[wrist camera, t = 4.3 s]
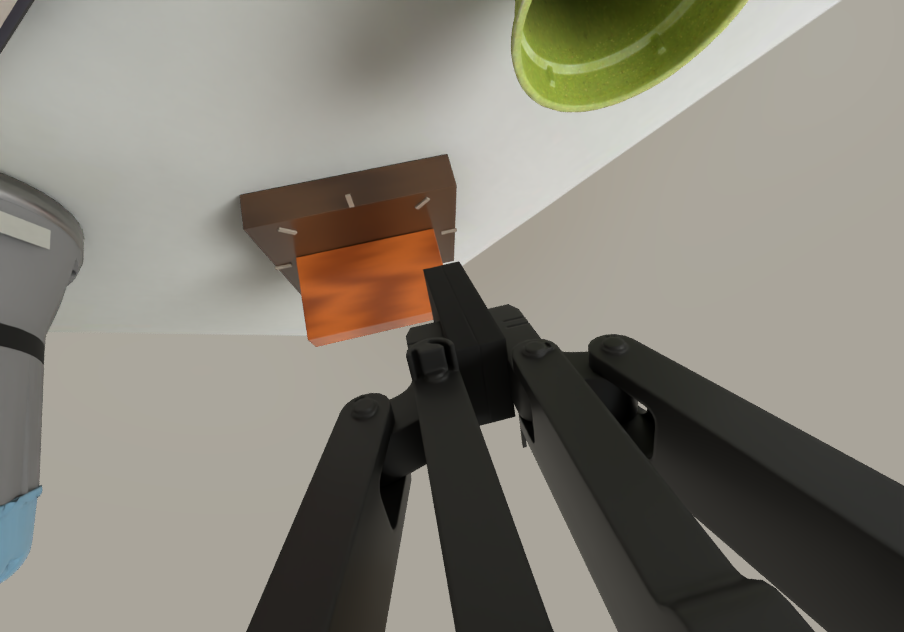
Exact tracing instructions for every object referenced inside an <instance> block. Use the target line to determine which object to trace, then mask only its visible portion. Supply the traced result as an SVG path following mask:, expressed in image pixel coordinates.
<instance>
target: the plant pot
mask: <svg viewBox="0 0 904 632" xmlns="http://www.w3.org/2000/svg"><path fill="white" fill-rule="evenodd" d="M747 2H748V0H515V18H514V22H513V28H512V36H511V54H512V61H513V66H514V70H515V73H516V76H517V79H518V81H519V83H520V85H521V87H522V89H523V90H524V91H525V92H526V94H527V95H528V96H529V97H530V98H531V99H532V100H534V101H535V102H536V103H538V104H540V105H541V106H543V107H546V108H550V109H552V110H556V111H560V112H586V111H591V110H597V109H600V108H604V107H608V106H612V105H615V104H618V103H620V102H622V101H625V100H627V99H629V98H632V97H634V96H636V95H638V94H640V93H642V92H644V91H646V90H648V89H650V88H652V87H654V86H655V85H657V84H659V83H660V82H662V81H664V80H665V79H667V78H668V77H670V76H671V75H673V74H674V73H675V72H677V71H678V70H679V69H680V68H681V67H683V66H684V65H686V64H687V63H688V62H690V61H691V60H692V59H693V58H694V57H696V56H697V55H698V54H699V53H700V52H702V51H703V50H704V49H705V48H706V47H707V46H708V45H709V44H710V43H711V42H712V41H713V40H714V39H715V38H716V37H717V36H718V35H719V34H720V33H721V32H722V31H723V30H724V29H725V28H726V27H727V26H728V25H729V24H730V22H731V21H732V20H733V19H734V18H735V17H736V16H737V15H738V13H739V12H740V11H741V9H742V8H743V7H744V6H745V4H746V3H747Z"/></svg>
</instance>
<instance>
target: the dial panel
mask: <svg viewBox="0 0 904 632" xmlns="http://www.w3.org/2000/svg"><path fill="white" fill-rule="evenodd" d="M456 188H457V185H456V182H455V178H454V175H453V171H452V168H451V165H450V161H449V158H448V155H447V154H446V155H440V156H435V157H430V158H425V159H420V160H415V161H410V162H405V163H400V164H395V165H390V166H385V167H380V168H375V169H370V170H365V171H359V172H354V173H349V174H344V175H339V176H334V177H329V178H324V179H319V180H314V181H309V182H304V183H299V184H294V185H289V186H284V187H278V188H273V189H268V190H263V191H258V192H253V193H248V194H243V195H240V203H241V212H242V222H243V229H244V230H245V232H246V233H247V234H248V235H249V236H250V237H251V238H252V240H253V241H254V242H255V243H256V244H257V245H258V246H259V248H260V249H261V250H262V251H263V252H264V253H265V254H266V255H267V257H268V258H269V259H270V260H271V261H272V262H273V263H274V265H275V266H276V267H275V269H276V270H280V271H281V272H282V274H283V275H284V276H285V277H286V278H287V279H288V280H289V282H290V283H291V284H292V285H293V286H294V287H295V288H296V290H297V291H298V292H299V293H300V294H301V290H300V283H299V276H298V269H297V262H296V258H297V257H301V256H306V255H311V254H316V253H320V252H325V251H330V250H334V249H339V248H344V247H349V246H353V245H358V244H363V243H367V242H372V241H377V240H381V239H386V238H391V237H396V236H400V235H405V234H410V233H414V232H419V231H424V230H428V229H434V233H435V236H436V240H437V244H438V248H439V252H440V255H441V259H442V263H446V262H450V261H454V243H455V232H457V229H456V228H455V215H456Z"/></svg>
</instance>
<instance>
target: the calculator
mask: <svg viewBox="0 0 904 632" xmlns="http://www.w3.org/2000/svg"><path fill="white" fill-rule="evenodd" d="M33 2H34V0H0V53H1V52H2V50H3V49H4V47H5V46H6V44H7V42H8V41H9V39H10V38H11V36H12V35H13V33H14V31H15V30H16V28H17V27H18V25H19V24H20V22H21V21H22V19H23V17H24V16H25V14H26V13H27V11H28V10H29V8H30V6H31V5H32V3H33Z"/></svg>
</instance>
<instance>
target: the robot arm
mask: <svg viewBox="0 0 904 632" xmlns="http://www.w3.org/2000/svg"><path fill="white" fill-rule="evenodd" d="M83 253H84V235H83V231H82V229H81V227H80V225H79V223H78V222H77V220H76V219H75V218H74V217H73V216H72V215H71V213H70V212H69V211H67V210H66V209H65V208H64V207H63V206H62V205H60V204H59V203H57V202H56V201H55V200H53V199H52V198H50V197H49V196H47V195H45V194H44V193H42V192H40V191H39V190H37V189H35V188H33V187H31V186H29V185H27V184H25V183H23V182H21V181H19V180H17V179H14V178H12V177H10V176H7V175H5V174H2V173H0V583H2V582H3V581H5V580H6V579H8V578H9V577H10V576H11V575H12V574H14V573H15V572H16V571H17V570H18V569H19V568H20V566H21V565H22V564H23V562H24V561H25V559H26V558H27V556H28V554H29V552H30V549H31V544H32V538H33V530H34V521H35V511H36V504H37V498H38V497H39V496H40V494H41V493H42V485H40V486H39V477H40V452H41V427H42V402H43V376H44V350H45V338H46V334H47V332H48V330H49V328H50V326H51V324H52V322H53V320H54V318H55V316H56V314H57V311H58V309H59V307H60V304H61V302H62V299H63V296H64V293H65V290H66V287H67V286H68V285H69V284H70V283H71V282H73V280H74V279H75V278H76V276H77V274H78V272H79V270H80V268H81V266H82V264H83ZM423 272H424V277H425V282H426V286H427V291H428V296H429V301H430V306H431V310H432V315H433V320H434V323H429V324H425V325H421V326H417V327H412V328H410V330H409V332H408V334H407V335H406V340H407V345H408V350H407V354H406V358H407V362H408V366H409V370H410V374H411V377H412V383H411V385H410V386H409V387H408V389H407V390H406V391H404V392H403V393H402V394H400V395H398V396H396V397H395V398H392V399H390V400H389V399H388V398H387V397H386V396H385V395H382V394H380V393H369V394H365V395H361V396H359V397H357V398H354V399H352V400H351V401H350V402H348V403H347V404H346V405H345V406H344V407H343V409H342V410H341V412H340V414H339V417H338V419H337V421H336V424H335V426H334V428H333V431H332V433H331V435H330V438H329V440H328V443H327V445H326V447H325V449H324V452H323V454H322V456H321V459H320V461H319V463H318V466H317V468H316V470H315V473H314V475H313V477H312V480H311V482H310V484H309V487H308V489H307V491H306V494H305V496H304V498H303V501H302V503H301V505H300V508H299V510H298V512H297V515H296V517H295V519H294V522H293V524H292V526H291V529H290V531H289V533H288V536H287V538H286V540H285V543H284V545H283V547H282V550H281V552H280V554H279V557H278V559H277V561H276V564H275V566H274V569H273V571H272V573H271V575H270V578H269V580H268V582H267V585H266V587H265V589H264V592H263V594H262V596H261V599H260V601H259V603H258V606H257V608H256V610H255V613H254V615H253V617H252V620H251V622H250V624H249V627H248V629H247V631H246V632H385V627H386V622H387V616H388V611H389V605H390V599H391V593H392V587H393V582H394V576H395V570H396V565H397V559H398V553H399V547H400V542H401V536H402V529H403V524H404V519H405V513H406V507H407V501H408V495H409V490H410V484H411V472H413V471H415V470H416V469H418V468H420V467H422V466H424V465H426V464H427V468H428V474H429V480H430V485H431V491H432V497H433V503H434V508H435V515H436V520H437V526H438V532H439V538H440V543H441V549H442V555H443V560H444V566H445V572H446V578H447V584H448V589H449V595H450V601H451V607H452V613H453V618H454V624H455V630H456V632H554V631H553V629H552V626H551V624H550V621H549V618H548V615H547V613H546V610H545V607H544V604H543V602H542V599H541V596H540V593H539V591H538V588H537V585H536V582H535V579H534V576H533V574H532V571H531V568H530V565H529V563H528V560H527V557H526V554H525V552H524V549H523V546H522V543H521V540H520V538H519V535H518V532H517V529H516V527H515V524H514V521H513V518H512V515H511V513H510V510H509V507H508V504H507V502H506V499H505V496H504V493H503V490H502V488H501V485H500V482H499V479H498V476H497V474H496V471H495V468H494V465H493V463H492V460H491V457H490V454H489V451H488V449H487V446H486V443H485V440H484V437H483V435H482V432H481V429H480V425H484V424H488V423H492V422H496V421H500V420H504V419H507V418H512V417H515V410H514V405H515V407H516V409H517V410H518V413H519V420H520V429H521V437H522V445H523V448H524V447H526V446H527V445H526V440H527V442H528V444H529V446H530V448H531V450H532V452H533V455H534V457H535V459H536V461H537V463H538V465H539V467H540V469H541V471H542V473H543V475H544V478H545V480H546V482H547V484H548V486H549V488H550V490H551V492H552V494H553V497H554V499H555V501H556V503H557V505H558V507H559V509H560V511H561V513H562V515H563V517H564V520H565V521H566V523H567V526H568V528H569V530H570V532H571V534H572V536H573V538H574V541H575V543H576V545H577V547H578V549H579V551H580V553H581V555H582V557H583V559H584V561H585V563H586V566H587V568H588V570H589V572H590V574H591V576H592V578H593V580H594V582H595V584H596V587H597V589H598V590H599V593H600V595H601V597H602V599H603V601H604V603H605V605H606V607H607V610H608V612H609V614H610V616H611V618H612V620H613V622H614V624H615V626H616V628H617V631H618V632H814V630H813V629H812V628H811V627H810V626H809V624H808V623H807V622H806V621H805V620H804V619H803V617H802V616H801V615H800V614H799V613H798V612H797V611H796V609H795V608H794V607H793V606H792V605H791V603H790V602H789V601H788V600H787V599H786V598H785V597H783V595H782V594H781V593H780V592H779V591H778V590H777V589H776V588H778V589H779V590H780V591H781V592H782V593H783V594H784V595H786V596H787V597H788V598H789V599H790V600H791V601H793V602H794V603H795V604H796V605H797V606H798V607H800V608H801V609H802V610H803V611H804V612H805V613H806V614H808V615H809V616H810V617H811V618H812V619H814V620H815V621H816V622H817V623H818V624H819V625H820V626H821V627H823V628H824V629H825V630H826V631H827V632H904V486H903V485H901V484H900V483H898V482H896V481H894V480H892V479H890V478H888V477H887V476H885V475H883V474H881V473H879V472H878V471H876V470H874V469H872V468H870V467H868V466H866V465H865V464H863V463H861V462H859V461H857V460H855V459H854V458H852V457H850V456H848V455H846V454H844V453H843V452H841V451H839V450H837V449H835V448H833V447H831V446H830V445H828V444H826V443H824V442H822V441H820V440H819V439H817V438H815V437H813V436H811V435H809V434H807V433H805V432H804V431H802V430H800V429H798V428H796V427H794V426H793V425H791V424H789V423H787V422H785V421H783V420H781V419H780V418H778V417H776V416H774V415H772V414H771V413H768V412H767V411H765V410H763V409H761V408H760V407H758V406H756V405H754V404H752V403H750V402H748V401H747V400H745V399H743V398H741V397H739V396H737V395H736V394H734V393H732V392H730V391H728V390H726V389H724V388H723V387H721V386H719V385H717V384H715V383H713V382H712V381H710V380H708V379H706V378H704V377H702V376H700V375H699V374H696V373H695V372H693V371H691V370H689V369H688V368H686V367H684V366H682V365H680V364H678V363H676V362H675V361H673V360H671V359H669V358H667V357H665V356H664V355H661V354H660V353H658V352H656V351H654V350H653V349H650V348H649V347H647V346H645V345H643V344H641V343H640V342H638V341H636V340H634V339H632V338H629V337H627V336H623V335H617V334H611V335H603V336H600V337H597V338H595V339H593V340H592V341H591V342H590V344H589V345H588V352H562V351H561V350H560V349H559V347H558V346H557V345H556V344H554V343H553V342H551V341H548V340H545V339H541V338H540V337H539V335H538V334H537V333H536V331H535V330H534V329H533V328H532V326H531V325H530V323H528V321H527V319H526V318H525V317H524V316H523V314H522V313H521V312H520V310H519V309H517V308H515V307H513V306H511V305H509V304H507V305H503V306H499V307H495V308H490V309H487V307H486V305H485V304H484V302H483V300H482V299H481V297H480V295H479V294H478V292H477V290H476V289H475V287H474V285H473V284H472V282H471V280H470V279H469V277H468V275H467V274H466V272H465V270H464V269H463V267H462V265H461V264H460V262H455V263H450V264H445V265H441V266H436V267H432V268H427V269H423ZM638 401H639V402H640V403H641V404H643V405H644V406H645V407H647V411H646V410H644V409H642V408H641V407H639V406H638ZM693 516H694V517H696V518H697V519H698V520H699V521H700V522H701V523H703V524H704V525H705V526H706V527H707V528H708V529H709V530H711V531H712V532H713V533H714V534H715V535H716V536H717V537H719V538H720V539H721V540H722V541H723V542H725V543H726V544H727V545H728V546H729V547H730V548H732V549H733V550H734V551H735V552H736V553H737V554H738V555H739V556H741V557H742V558H743V559H744V560H745V561H746V562H748V563H749V564H750V565H751V566H752V567H753V568H754V569H756V570H757V571H758V572H759V573H760V574H761V575H763V576H764V577H765V578H766V579H767V580H768V581H770V582H771V583H772V584H773V585H774V586H775V587H776V588H774V587H773V586H771V585H769V584H768V583H766V582H765V581H763V580H756V579H747V578H746V577H744V576H743V575H741V574H740V573H739V572H738V571H737V570H736V569H735V568H734V567H733V566H732V564H731V563H730V562H729V560H728V559H727V558H726V557H725V555H724V554H723V553H722V552H721V550H720V549H719V548H718V547H717V545H716V544H715V543H714V542H713V541H712V539H711V538H710V537H709V535H708V534H707V533H706V532H705V530H704V529H703V528H702V527H701V525H700V524H699V523H698V522H697V520H696V519H695V518H694V517H693Z"/></svg>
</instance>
